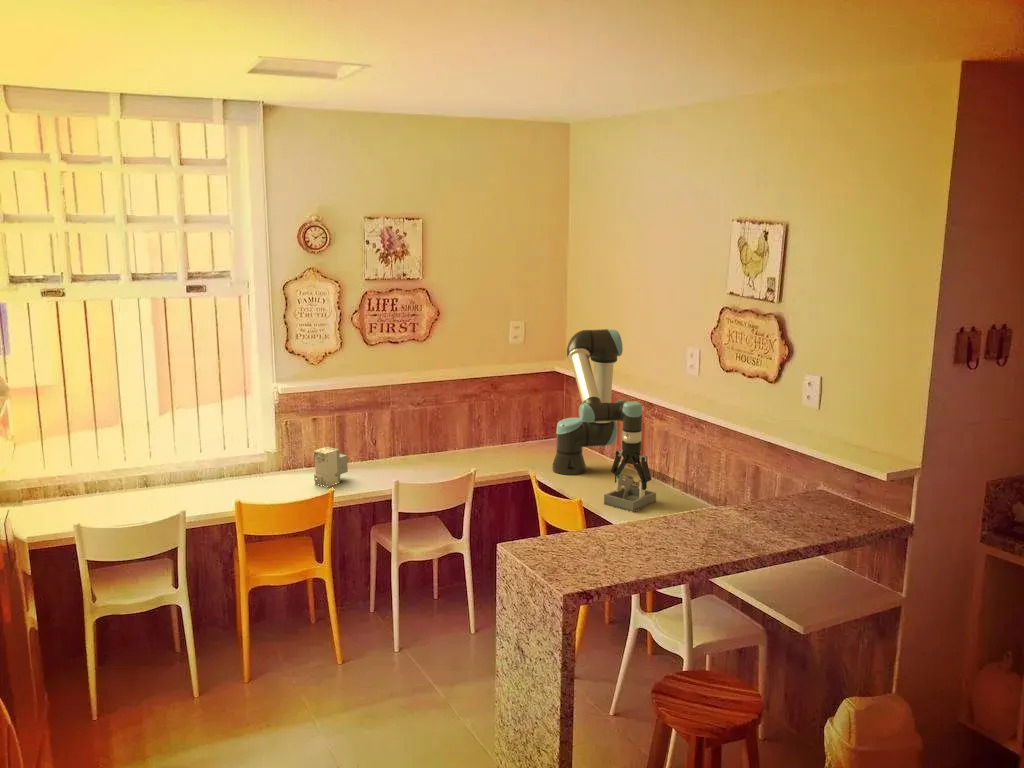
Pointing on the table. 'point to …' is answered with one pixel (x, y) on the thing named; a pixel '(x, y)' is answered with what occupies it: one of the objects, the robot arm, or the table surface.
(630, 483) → the mechanical component
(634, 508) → the parts tray
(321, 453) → the circuit breaker
